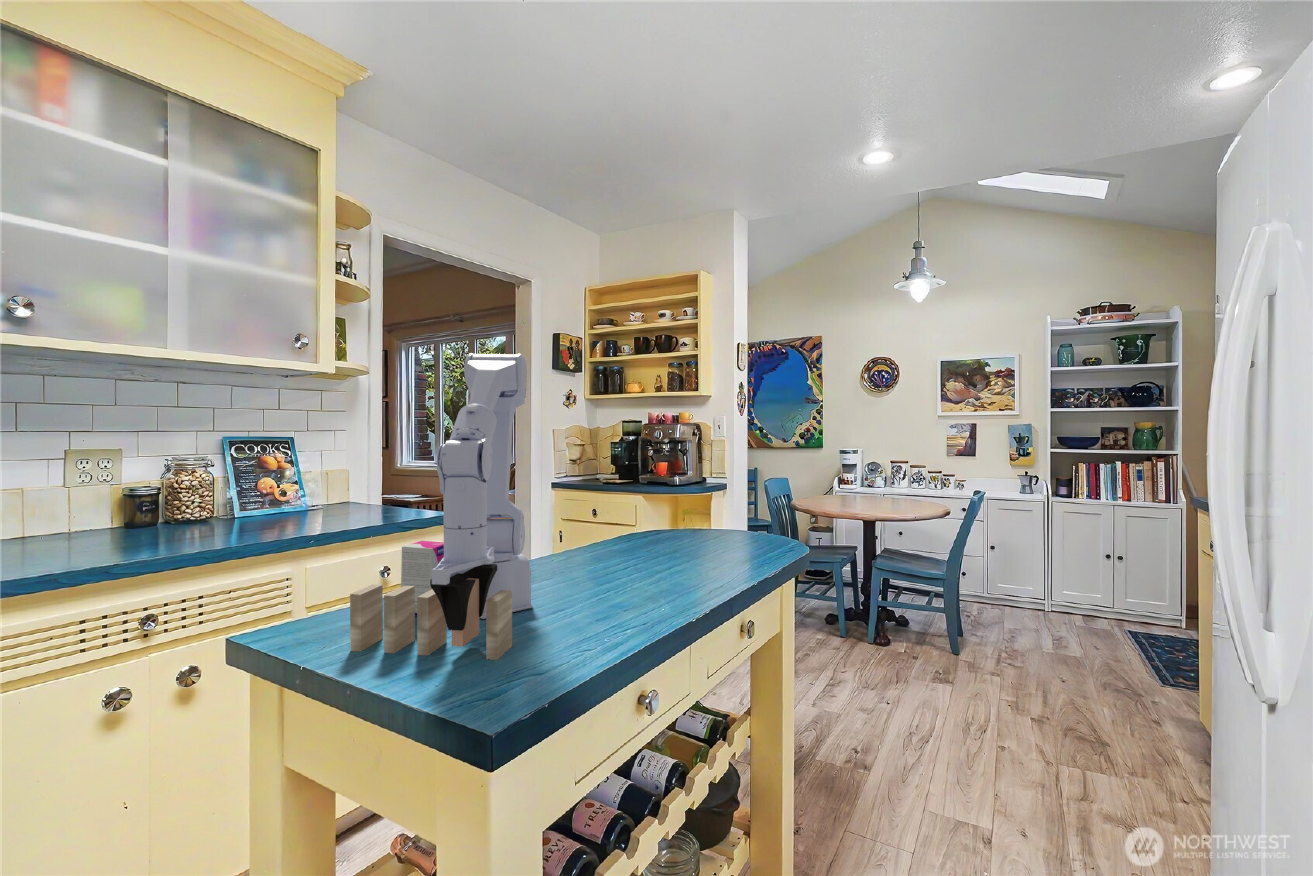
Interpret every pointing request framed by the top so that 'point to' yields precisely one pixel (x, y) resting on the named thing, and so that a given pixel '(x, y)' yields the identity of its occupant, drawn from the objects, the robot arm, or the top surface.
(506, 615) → the domino
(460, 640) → the domino
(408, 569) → the supplement box
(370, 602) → the domino
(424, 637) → the domino
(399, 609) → the domino
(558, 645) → the top surface
